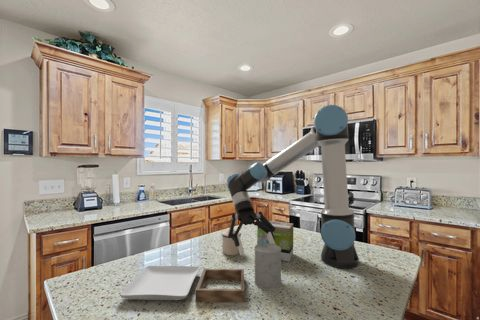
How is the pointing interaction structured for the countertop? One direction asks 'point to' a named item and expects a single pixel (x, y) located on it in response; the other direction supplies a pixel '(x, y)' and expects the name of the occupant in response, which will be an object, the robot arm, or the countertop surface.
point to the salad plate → (161, 283)
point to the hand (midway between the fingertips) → (258, 251)
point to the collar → (220, 294)
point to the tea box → (279, 238)
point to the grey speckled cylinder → (268, 266)
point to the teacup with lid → (229, 244)
